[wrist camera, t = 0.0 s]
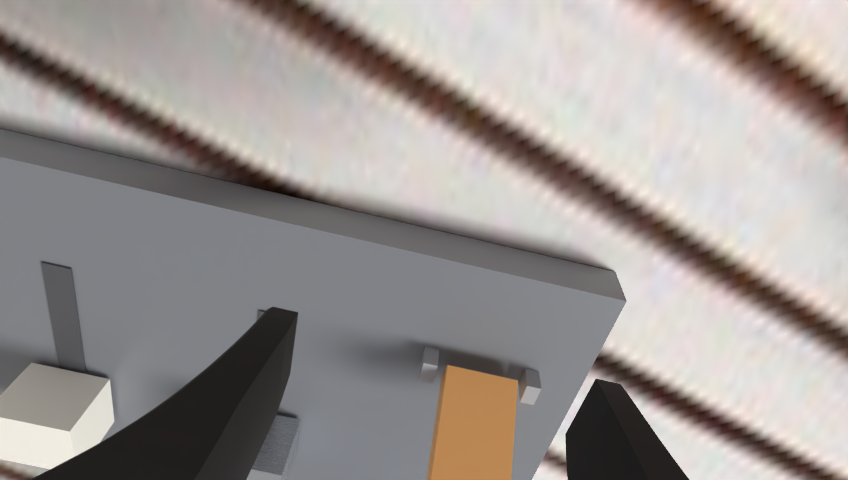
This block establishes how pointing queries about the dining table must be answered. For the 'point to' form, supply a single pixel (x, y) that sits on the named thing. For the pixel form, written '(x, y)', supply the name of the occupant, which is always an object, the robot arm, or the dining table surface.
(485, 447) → the orange toggle
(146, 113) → the dining table surface
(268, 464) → the grey slider
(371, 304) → the control panel
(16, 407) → the cream slider
